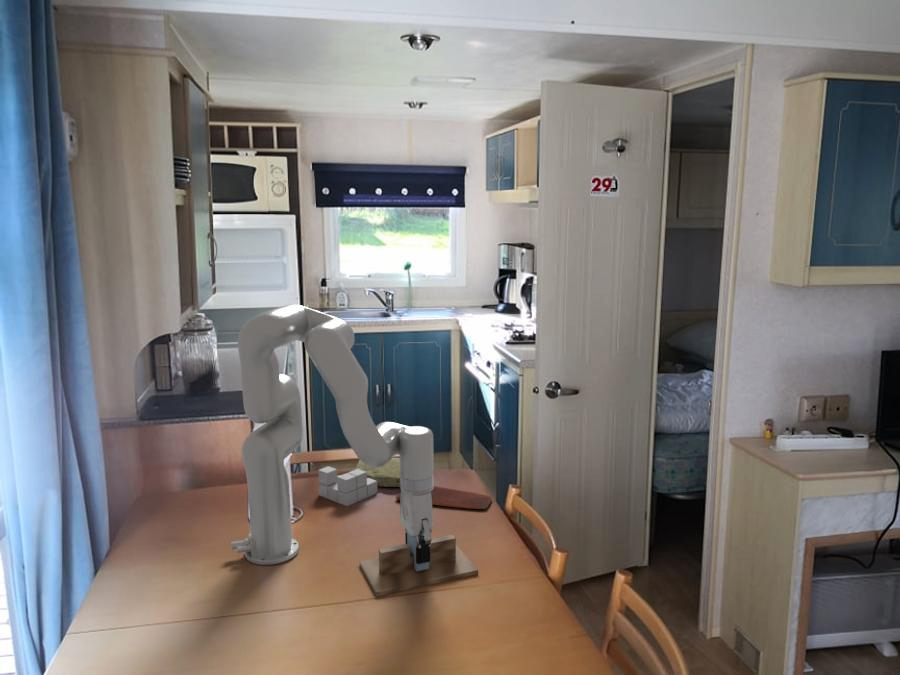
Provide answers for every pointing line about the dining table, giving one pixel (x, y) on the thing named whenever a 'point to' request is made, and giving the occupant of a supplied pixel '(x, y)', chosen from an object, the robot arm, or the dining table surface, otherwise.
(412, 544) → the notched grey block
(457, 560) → the walnut stand
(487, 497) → the wooden tablet
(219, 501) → the dining table surface
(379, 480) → the olive green flat block
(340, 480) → the puzzle cube
